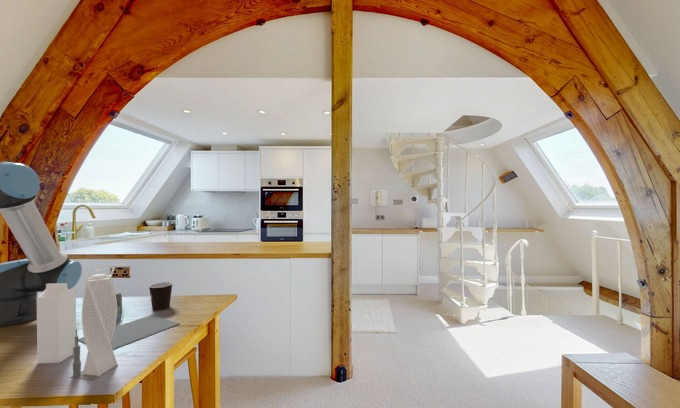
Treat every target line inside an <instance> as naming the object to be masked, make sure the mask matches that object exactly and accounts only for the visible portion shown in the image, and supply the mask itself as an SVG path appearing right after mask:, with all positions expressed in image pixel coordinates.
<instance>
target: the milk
mask: <svg viewBox="0 0 680 408" xmlns="http://www.w3.org/2000/svg"><path fill="white" fill-rule="evenodd" d="M76 292H77V291H76V290H73V289H72V288H71V289H68V288H67V283H57V284H46V289H45V290H44V291H43V292H40V294H39V295H37V296H38V297H37V318H36V339H37V341H36V343H37V349H36V351H37V358H36V359H37V364H38V365H39V364H59V363H61V362H63V361H65V360H67V359H68V358H70V357H71V356H73V346H75V336H76V329H77V300H76V299H77V296H76V294H77V293H76Z"/></svg>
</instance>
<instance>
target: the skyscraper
mask: <svg viewBox="0 0 680 408" xmlns="http://www.w3.org/2000/svg"><path fill="white" fill-rule="evenodd" d="M115 268H116V267H115V266H111V265H110V266H108V265H107V266H104V267H99V268H97V269H95V270H93V271H92V272H91V273H90V274H89V275H88V276H87V279H86V281H85V283H86V284H85V289H84V293H83V297H82V298H83V299H82V305H81V325H82V332H83V337H84V338H85V342H86V344H85V346H86V348H87V354H86V358H85V363H84V367H83V370H82V360H81V344H79V341H78V339H79V338H80V337H79V335H78V329H77V328H76V336H75V346H73V355H72V356H73V358H72V359H73V362H72V363H71V364H72V376H71V377H70V379H76V380H77V379H78V380H87V381H95V380H96V379H98V378H99V377H101V376H103V375H105V374H106V373H108V372H109V371H112V370H113V369H114V368H116V367H118V362H117V358H116V355H115V352H114V350H113V349H112V346H111V340H112V337H113V333H114V329H115V327H116V326H117V325H116V324H117V321H116V319H117V299H116V294H117V293H116V290H115V286H114V282H113V280H112V277H113V274H114V271H115ZM105 269H111V272H110V274H109V275H108V274H107V273H97V274H95V273H96V272H98V271H101V270H105Z"/></svg>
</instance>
